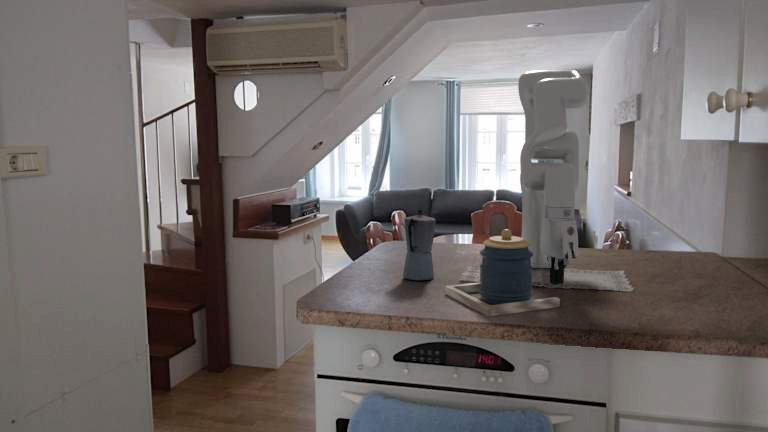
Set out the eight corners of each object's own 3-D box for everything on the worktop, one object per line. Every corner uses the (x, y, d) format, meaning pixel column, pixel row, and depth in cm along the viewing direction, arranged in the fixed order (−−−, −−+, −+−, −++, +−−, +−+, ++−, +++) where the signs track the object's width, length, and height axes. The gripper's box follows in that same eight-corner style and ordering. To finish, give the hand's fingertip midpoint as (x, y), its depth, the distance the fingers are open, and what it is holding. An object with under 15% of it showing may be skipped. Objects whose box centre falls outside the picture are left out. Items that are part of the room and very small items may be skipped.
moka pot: (441, 273, 167) (441, 207, 165) (428, 286, 153) (428, 213, 150) (410, 271, 170) (410, 206, 168) (394, 283, 156) (394, 212, 153)
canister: (469, 295, 143) (469, 227, 141) (511, 290, 148) (512, 224, 146) (498, 309, 131) (499, 235, 129) (543, 302, 136) (545, 231, 134)
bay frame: (509, 286, 152) (509, 278, 152) (559, 306, 133) (559, 298, 132) (445, 293, 145) (445, 286, 145) (488, 316, 126) (488, 307, 126)
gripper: (590, 216, 137) (588, 289, 139) (553, 209, 151) (551, 275, 153) (565, 217, 134) (562, 292, 137) (529, 210, 148) (527, 278, 151)
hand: (556, 283), depth 145 cm, fingers closed
